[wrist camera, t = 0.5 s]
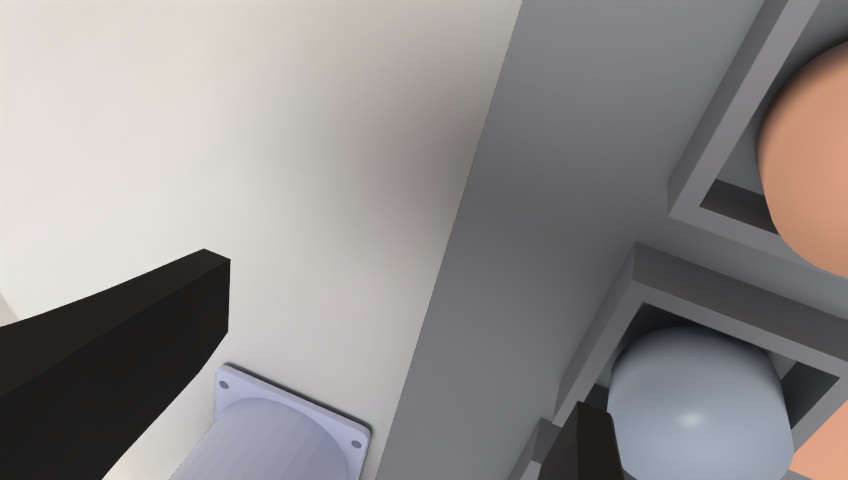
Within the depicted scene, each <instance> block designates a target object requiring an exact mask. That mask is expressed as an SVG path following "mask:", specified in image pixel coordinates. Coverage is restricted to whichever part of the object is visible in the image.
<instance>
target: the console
mask: <svg viewBox="0 0 848 480" xmlns="http://www.w3.org/2000/svg"><path fill="white" fill-rule="evenodd" d="M847 41H848V0H523V2H522V5H521V8H520V12H519V15H518V18H517V21H516V25H515V28H514V31H513V34H512V38H511V41H510V44H509V47H508V51H507V54H506V57H505V60H504V64H503V67H502V70H501V73H500V76H499V80H498V83H497V86H496V89H495V93H494V96H493V99H492V102H491V106H490V109H489V112H488V115H487V119H486V122H485V125H484V128H483V132H482V135H481V138H480V141H479V145H478V148H477V151H476V154H475V157H474V161H473V164H472V167H471V170H470V174H469V177H468V180H467V183H466V187H465V190H464V193H463V196H462V200H461V203H460V206H459V209H458V213H457V216H456V219H455V222H454V226H453V229H452V232H451V235H450V238H449V242H448V245H447V248H446V251H445V255H444V258H443V261H442V264H441V268H440V271H439V274H438V277H437V281H436V284H435V287H434V290H433V294H432V297H431V300H430V303H429V307H428V310H427V313H426V316H425V319H424V323H423V326H422V329H421V332H420V336H419V339H418V342H417V345H416V349H415V352H414V355H413V358H412V362H411V365H410V368H409V371H408V375H407V378H406V381H405V384H404V388H403V391H402V394H401V397H400V400H399V404H398V407H397V410H396V413H395V417H394V420H393V423H392V426H391V430H390V433H389V436H388V439H387V443H386V446H385V449H384V452H383V456H382V459H381V462H380V465H379V469H378V472H377V475H376V478H375V480H537V479H538V476H539V472H540V468H541V465H542V463H543V461H544V459H545V458H546V456H547V454H548V452H549V451H550V449H551V447H552V445H553V443H554V442H555V440H556V438H557V436H558V434H559V433H560V431H561V429H562V427H563V426H564V424H565V422H566V420H567V418H568V417H569V415H570V413H571V411H572V409H573V408H574V406H575V404H576V402H577V401H581V402H583V403H585V404H588V405H590V406H593V407H595V408H598V409H600V410H603V411H605V412H607V405H608V396H609V387H610V378H611V371H612V367H613V364H614V362H615V360H616V358H617V357H618V355H619V354H620V353H621V351H622V350H623V349H624V348H625V347H626V346H627V345H629V344H630V343H631V342H633V341H634V340H636V339H638V338H639V337H641V336H643V335H646V334H648V333H650V332H653V331H657V330H660V329H665V328H671V327H682V326H692V327H704V328H711V329H715V330H718V331H721V332H723V333H726V334H728V335H731V336H734V337H736V338H739V339H741V340H744V341H746V342H748V343H750V344H752V345H753V346H754V347H756V348H757V349H758V350H760V351H761V352H762V353H763V354H764V355H765V356H766V357H767V358H768V359H769V361H770V362H771V363H772V364H773V366H774V368H775V369H776V371H777V373H778V376H779V379H780V382H781V387H782V391H783V396H784V401H785V406H786V410H787V415H788V420H789V425H790V429H791V434H792V439H793V446H794V452H793V459H792V462H791V465H790V467H789V468H788V470H787V472H786V473H785V474H784V476H783V477H782V478H781V479H780V480H848V278H846V277H842V276H839V275H836V274H832V273H830V272H828V271H825V270H823V269H821V268H818V267H816V266H815V265H813V264H811V263H810V262H808V261H806V260H805V259H803V258H802V257H801V256H799V255H798V254H797V253H796V252H794V251H793V250H792V249H791V248H790V247H789V246H788V245H787V244H786V242H785V241H784V240H783V238H782V237H781V236H780V234H779V233H778V231H777V229H776V227H775V225H774V223H773V221H772V219H771V215H770V212H769V208H768V205H767V201H766V198H765V194H764V191H763V187H762V183H761V180H760V176H759V173H758V169H757V165H756V157H755V144H756V137H757V132H758V128H759V125H760V122H761V119H762V117H763V115H764V113H765V111H766V109H767V107H768V105H769V103H770V102H771V100H772V99H773V97H774V96H775V95H776V93H777V92H778V90H779V89H780V88H781V87H782V86H783V85H784V84H785V83H786V81H787V80H788V79H789V78H790V77H791V76H793V75H794V74H795V73H796V72H797V71H798V70H799V69H800V68H802V67H803V66H804V65H806V64H807V63H809V62H810V61H811V60H813V59H814V58H816V57H817V56H819V55H821V54H822V53H824V52H826V51H828V50H829V49H831V48H834V47H836V46H838V45H840V44H842V43H845V42H847ZM623 472H624V477H625V480H637V479H636V478H634V477H633V476H631V475H630V474H629V473H628V472H627V471H625V470H624V469H623Z"/></svg>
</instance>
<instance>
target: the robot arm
mask: <svg viewBox="0 0 848 480" xmlns="http://www.w3.org/2000/svg"><path fill="white" fill-rule="evenodd" d="M230 261H231V259H228V258H226V257H223V256H221V255H219V254H216V253H214V252H211V251H209V250H206V249H202V250H199V251H197V252H194V253H192V254H189V255H187V256H185V257H182V258H180V259H178V260H175V261H173V262H171V263H168V264H166V265H164V266H161V267H159V268H157V269H154V270H152V271H150V272H147V273H145V274H143V275H140V276H138V277H135V278H133V279H131V280H128V281H126V282H123V283H121V284H119V285H116V286H114V287H111V288H109V289H106V290H104V291H102V292H99V293H97V294H94V295H91V296H89V297H86V298H83V299H80V300H78V301H75V302H72V303H69V304H67V305H64V306H61V307H59V308H56V309H53V310H50V311H48V312H45V313H42V314H40V315H37V316H34V317H31V318H28V319H24V320H21V321H18V322H15V323H12V324H9V325H6V326H2V327H0V480H102V478H103V477H104V476H105V475H106V474H107V473H108V471H109V470H110V469H111V468H112V467H113V466H114V464H115V463H116V462H117V461H118V460H119V459H120V457H121V456H122V455H123V454H124V453H125V452H126V451H127V450H128V449H129V448H130V447H131V446H132V445H133V443H134V442H135V441H136V440H137V439H138V438H139V437H140V436H141V435H142V434H143V433H144V432H145V431H146V429H147V428H148V427H149V426H150V425H151V424H152V423H153V422H154V421H155V420H156V419H157V418H158V417H159V415H160V414H161V413H162V412H163V411H164V410H165V409H166V408H167V407H168V406H169V405H170V404H171V403H172V402H173V400H174V399H175V398H176V397H177V396H178V395H179V394H180V393H181V392H182V391H183V389H184V388H185V387H186V386H187V385H188V384H189V383H190V382H191V381H192V380H193V378H194V377H195V376H196V375H197V374H198V373H199V372H200V370H201V369H202V368H203V366H204V365H205V364H206V362H207V361H208V359H209V358H210V357H211V355H212V354H213V353H214V351H215V350H216V348H217V347H218V345H219V344H220V342H221V341H222V340H223V338H224V337H225V335H226V334H227V332H228V317H229V289H230ZM370 438H371V433H370V431H369V430H368V429H367V428H366V427H365V426H363V425H361V424H358V423H356V422H354V421H352V420H349V419H347V418H345V417H343V416H340V415H338V414H336V413H333V412H331V411H329V410H327V409H324V408H322V407H320V406H318V405H315V404H313V403H311V402H309V401H306V400H304V399H302V398H300V397H297V396H295V395H293V394H291V393H288V392H286V391H284V390H282V389H279V388H277V387H275V386H273V385H270V384H268V383H266V382H264V381H261V380H259V379H257V378H254V377H252V376H250V375H248V374H245V373H243V372H241V371H239V370H236V369H234V368H232V367H230V366H226V365H223V366H221V367H220V368H219V369H218V370H217V371H216V381H215V417H214V424H213V425H212V426H211V427H210V429H209V430H208V431H207V432H206V434H205V435H204V436H203V438H202V439H201V440H200V441H199V443H198V444H197V445H196V446H195V448H194V449H193V450H192V451H191V453H190V454H189V455H188V456H187V458H186V459H185V460H184V461H183V463H182V464H181V465H180V467H179V468H178V469H177V470H176V472H175V473H174V474H173V475H172V477H171V478H170V479H169V480H359V477H360V473H361V470H362V466H363V463H364V459H365V455H366V452H367V448H368V445H369V441H370ZM537 480H625V477H624V472H623V468H622V464H621V459H620V454H619V449H618V444H617V439H616V433H615V428H614V422H613V418H612V416H611V414H610V413H608V412H605V411H603V410H600V409H598V408H595V407H593V406H590V405H588V404H585V403H583V402H581V401H577V402H576V404H575V406H574V408H573V409H572V411H571V413H570V415H569V417H568V418H567V420H566V422H565V424H564V426H563V427H562V429H561V431H560V433H559V434H558V436H557V438H556V440H555V442H554V443H553V445H552V447H551V449H550V451H549V452H548V454H547V456H546V458H545V459H544V461H543V463H542V465H541V468H540V472H539V476H538V479H537Z"/></svg>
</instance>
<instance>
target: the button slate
mask: <svg viewBox="0 0 848 480" xmlns="http://www.w3.org/2000/svg"><path fill="white" fill-rule="evenodd" d="M607 412H608V413H610V414H611V416H612V418H613V422H614V428H615V433H616V439H617V444H618V449H619V454H620V459H621V464H622V468H623V469H624V470H625V471H627V472H628V473H629V474H630V475H631V476H633V477H634V478H636V479H637V480H780V479H781V478H782V477H783V476H784V474H785V473H786V472H787V470H788V468H789V467H790V465H791V462H792V459H793V452H794V446H793V439H792V434H791V429H790V425H789V420H788V415H787V410H786V406H785V401H784V396H783V391H782V387H781V382H780V379H779V376H778V373H777V371H776V369H775V368H774V366H773V364H772V363H771V362H770V361H769V359H768V358H767V357H766V356H765V355H764V354H763V353H762V352H761V351H760V350H758V349H757V348H756V347H754V346H753V345H752V344H750V343H748V342H746V341H744V340H741V339H739V338H736V337H734V336H731V335H728V334H726V333H723V332H721V331H718V330H715V329H711V328H704V327H692V326H682V327H671V328H665V329H660V330H657V331H653V332H650V333H648V334H646V335H643V336H641V337H639V338H638V339H636V340H634V341H633V342H631V343H630V344H629V345H627V346H626V347H625V348H624V349H623V350H622V351H621V353H620V354H619V355H618V357H617V358H616V360H615V362H614V364H613V367H612V371H611V378H610V387H609V396H608V405H607Z"/></svg>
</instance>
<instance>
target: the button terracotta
mask: <svg viewBox="0 0 848 480" xmlns="http://www.w3.org/2000/svg"><path fill="white" fill-rule="evenodd" d="M755 157H756V165H757V169H758V173H759V176H760V180H761V183H762V187H763V191H764V194H765V198H766V201H767V205H768V208H769V212H770V215H771V219H772V221H773V223H774V225H775V227H776V229H777V231H778V233H779V234H780V236H781V237H782V238H783V240H784V241H785V242H786V244H787V245H788V246H789V247H790V248H791V249H792V250H793V251H794V252H796V253H797V254H798V255H799V256H801V257H802V258H803V259H805V260H806V261H808V262H810V263H811V264H813V265H815V266H816V267H818V268H821V269H823V270H825V271H828V272H830V273H832V274H836V275H839V276H842V277H846V278H848V41H847V42H845V43H842V44H840V45H838V46H836V47H834V48H831V49H829V50H828V51H826V52H824V53H822V54H821V55H819V56H817V57H816V58H814V59H813V60H811V61H810V62H809V63H807V64H806V65H804V66H803V67H802V68H800V69H799V70H798V71H797V72H796V73H795V74H794V75H793V76H791V77H790V78H789V79H788V80H787V81H786V83H785V84H784V85H783V86H782V87H781V88H780V89H779V90H778V92H777V93H776V95H775V96H774V97H773V99H772V100H771V102H770V103H769V105H768V107H767V109H766V111H765V113H764V115H763V117H762V119H761V122H760V125H759V128H758V132H757V137H756V144H755Z"/></svg>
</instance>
